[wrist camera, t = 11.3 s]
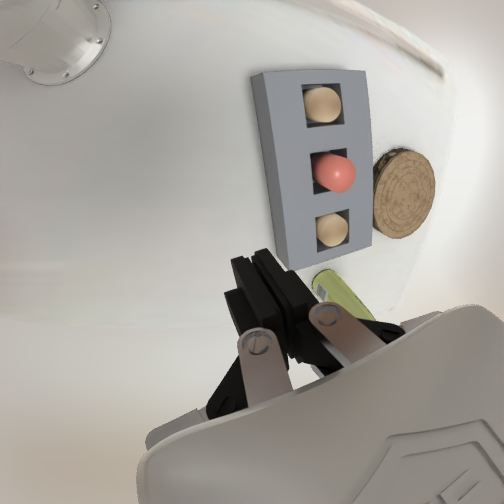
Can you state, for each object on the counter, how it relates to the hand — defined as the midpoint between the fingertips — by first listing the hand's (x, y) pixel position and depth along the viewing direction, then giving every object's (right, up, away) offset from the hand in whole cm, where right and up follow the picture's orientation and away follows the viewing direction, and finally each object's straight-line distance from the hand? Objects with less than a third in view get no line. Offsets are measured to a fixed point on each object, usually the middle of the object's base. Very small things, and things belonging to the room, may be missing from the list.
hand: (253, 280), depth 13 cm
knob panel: (+8, +14, +25) cm, 30 cm away
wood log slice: (+26, +12, +32) cm, 43 cm away
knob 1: (+7, +20, +20) cm, 30 cm away
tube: (+12, -4, +36) cm, 38 cm away
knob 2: (+10, +6, +29) cm, 31 cm away
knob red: (+9, +12, +23) cm, 27 cm away
